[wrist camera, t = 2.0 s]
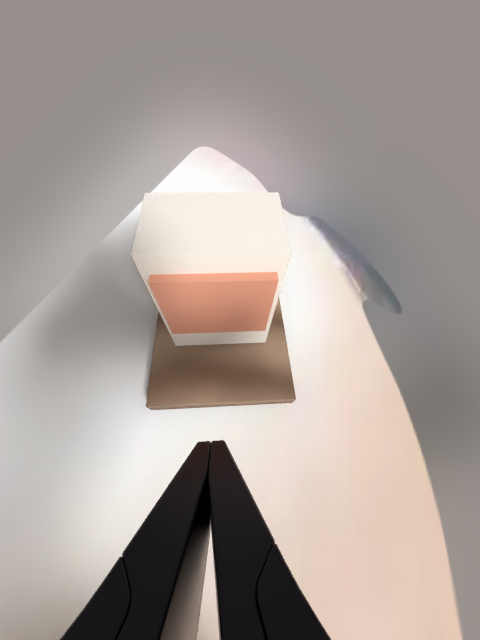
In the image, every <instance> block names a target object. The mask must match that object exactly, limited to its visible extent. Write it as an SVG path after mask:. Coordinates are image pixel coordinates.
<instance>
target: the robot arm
mask: <svg viewBox="0 0 480 640" xmlns="http://www.w3.org/2000/svg"><path fill="white" fill-rule="evenodd" d="M210 528H211V530H212V544H213V558H214V571H215V585H216V598H217V611H218V625H219V638H220V640H331V639H330V637H329V635H328V634H327V632H326V631H325V629H324V627H323V626H322V624H321V623H320V621H319V620H318V618H317V616H316V615H315V613H314V611H313V610H312V608H311V606H310V605H309V603H308V601H307V600H306V598H305V596H304V595H303V593H302V591H301V590H300V588H299V586H298V584H297V582H296V581H295V579H294V577H293V575H292V573H291V571H290V569H289V567H288V566H287V564H286V562H285V560H284V558H283V556H282V554H281V552H280V550H279V548H278V546H277V544H275V541H274V538H273V536H272V534H271V532H270V530H269V528H268V526H267V524H266V522H265V520H264V519H263V517H262V515H261V513H260V511H259V509H258V507H257V505H256V503H255V501H254V499H253V497H252V495H251V493H250V491H249V489H248V487H247V485H246V483H245V481H244V479H243V477H242V475H241V473H240V471H239V469H238V467H237V465H236V463H235V461H234V459H233V457H232V455H231V453H230V451H229V449H228V447H227V445H226V443H225V441H223V440H221V441H212V443H211V442H210V441H204V442H198V443H197V444H196V446H195V447H194V449H193V450H192V452H191V453H190V455H189V456H188V457H187V459H186V460H185V462H184V463H183V465H182V466H181V468H180V469H179V471H178V472H177V474H176V475H175V477H174V478H173V480H172V481H171V482H170V484H169V485H168V487H167V488H166V490H165V491H164V493H163V494H162V496H161V497H160V499H159V500H158V502H157V503H156V505H155V506H154V508H153V509H152V510H151V512H150V513H149V515H148V516H147V518H146V519H145V521H144V522H143V524H142V525H141V527H140V528H139V530H138V531H137V533H136V534H135V535H134V537H133V538H132V540H131V541H130V543H129V544H128V546H127V547H126V549H125V550H124V552H123V554H122V556H123V557H119V559H118V560H117V562H116V563H115V565H114V566H113V568H112V569H111V571H110V572H109V574H108V575H107V577H106V578H105V579H104V581H103V582H102V584H101V585H100V586H99V588H98V589H97V591H96V592H95V593H94V595H93V596H92V598H91V599H90V601H89V602H88V603H87V605H86V606H85V608H84V609H83V610H82V612H81V613H80V614H79V615H78V617H77V618H76V619H75V621H74V622H73V623H72V625H71V626H70V627H69V629H68V630H67V631H66V632H65V634H64V635H63V636H62V638H61V639H60V640H196V639H197V632H198V624H199V616H200V608H201V600H202V593H203V585H204V577H205V569H206V561H207V553H208V546H209V538H210Z"/></svg>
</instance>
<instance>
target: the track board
mask: <svg viewBox="0 0 480 640" xmlns="http://www.w3.org/2000/svg"><path fill="white" fill-rule="evenodd" d="M295 399H296V397H295V391H294V385H293V379H292V373H291V367H290V361H289V355H288V349H287V343H286V337H285V331H284V325H283V319H282V313H281V307H280V301H279V297H278V301H277V304H276V308H275V311H274V315H273V318H272V321H271V325H270V328H269V332H268V335H267V339H266V342H264V343H238V344H212V345H186V346H176V345H175V343H174V341H173V339H172V337H171V335H170V333H169V331H168V329H167V327H166V325H165V323H164V321H163V319H162V317H161V315H160V313H159V314H158V321H157V329H156V336H155V343H154V351H153V358H152V366H151V373H150V381H149V388H148V396H147V403H146V407H147V408H149V409H151V410H161V409H180V408H199V407H218V406H238V405H257V404H276V403H292V402H293V401H294V400H295Z"/></svg>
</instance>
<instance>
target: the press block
mask: <svg viewBox="0 0 480 640" xmlns="http://www.w3.org/2000/svg"><path fill="white" fill-rule="evenodd" d="M291 253H292V250H291V246H290V241H289V237H288V232H287V228H286V224H285V219H284V215H283V210H282V206H281V201H280V197H279V193H145V195H144V200H143V204H142V208H141V212H140V217H139V221H138V225H137V229H136V233H135V238H134V242H133V246H132V250H131V257H132V259H133V261H134V263H135V265H136V267H137V269H138V271H139V273H140V275H141V277H142V279H143V281H144V283H145V285H146V287H147V289H148V291H149V293H150V295H151V297H152V299H153V301H154V303H155V305H156V307H157V309H158V311H159V313H160V315H161V317H162V319H163V321H164V323H165V325H166V327H167V329H168V331H169V333H170V335H171V337H172V339H173V341H174V343H175V345H176V346H186V345H212V344H238V343H264V342H266V339H267V335H268V332H269V328H270V325H271V321H272V318H273V315H274V311H275V308H276V304H277V301H278V297H279V294H280V291H281V287H282V284H283V280H284V277H285V274H286V270H287V267H288V263H289V260H290V256H291Z"/></svg>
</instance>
